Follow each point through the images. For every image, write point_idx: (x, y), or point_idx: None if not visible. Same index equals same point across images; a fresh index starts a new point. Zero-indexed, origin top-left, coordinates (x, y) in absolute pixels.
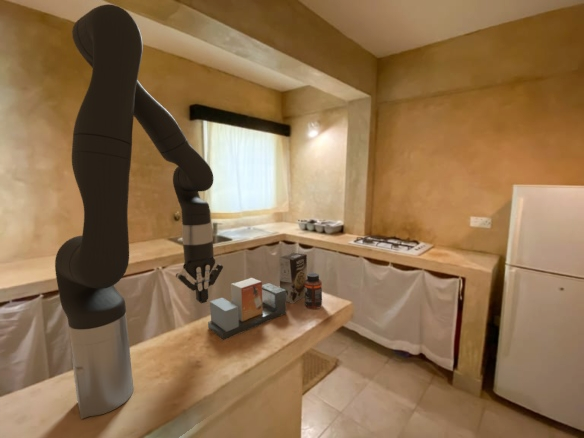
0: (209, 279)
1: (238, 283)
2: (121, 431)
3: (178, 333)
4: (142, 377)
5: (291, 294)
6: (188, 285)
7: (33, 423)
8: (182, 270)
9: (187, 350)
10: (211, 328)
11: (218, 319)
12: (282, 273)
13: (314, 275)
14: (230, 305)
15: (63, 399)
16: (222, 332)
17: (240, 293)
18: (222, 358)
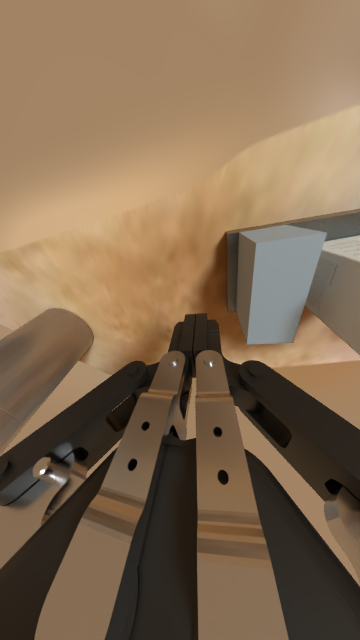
0: (256, 398)
1: None
2: (97, 368)
3: (151, 208)
4: (98, 318)
5: None
6: (115, 421)
7: (11, 323)
8: (3, 555)
9: (160, 295)
10: (226, 252)
11: (240, 287)
12: None
13: None
14: (284, 324)
15: (16, 304)
16: (229, 308)
17: (354, 346)
18: None
